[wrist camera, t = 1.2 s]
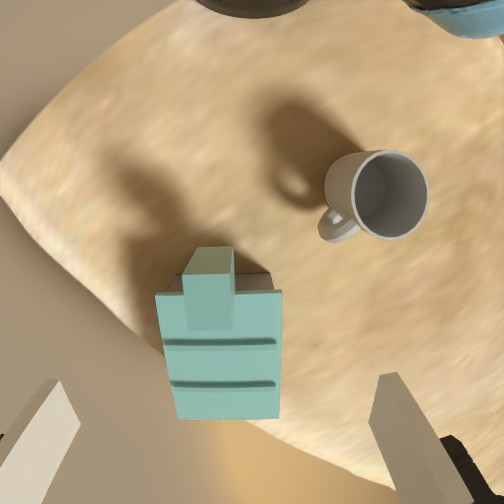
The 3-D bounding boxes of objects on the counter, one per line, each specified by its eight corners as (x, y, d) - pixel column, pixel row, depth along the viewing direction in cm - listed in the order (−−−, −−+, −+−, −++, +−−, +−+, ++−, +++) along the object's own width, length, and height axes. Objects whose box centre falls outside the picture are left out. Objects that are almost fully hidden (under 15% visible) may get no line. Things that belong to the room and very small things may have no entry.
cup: (397, 191, 31) (442, 201, 23) (332, 252, 33) (361, 281, 24) (357, 139, 30) (396, 131, 21) (288, 202, 31) (304, 215, 23)
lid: (151, 248, 26) (123, 275, 19) (281, 244, 26) (294, 271, 19) (179, 413, 31) (169, 460, 24) (278, 413, 31) (284, 461, 24)
